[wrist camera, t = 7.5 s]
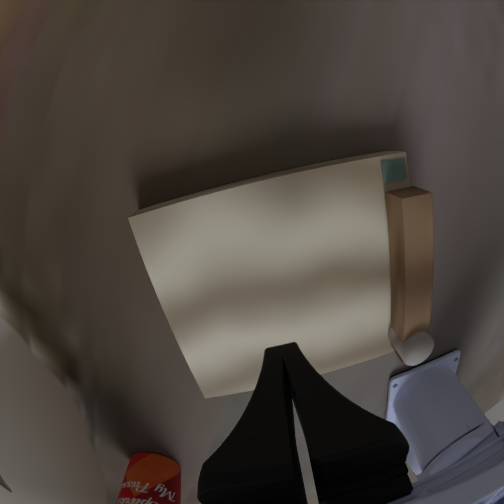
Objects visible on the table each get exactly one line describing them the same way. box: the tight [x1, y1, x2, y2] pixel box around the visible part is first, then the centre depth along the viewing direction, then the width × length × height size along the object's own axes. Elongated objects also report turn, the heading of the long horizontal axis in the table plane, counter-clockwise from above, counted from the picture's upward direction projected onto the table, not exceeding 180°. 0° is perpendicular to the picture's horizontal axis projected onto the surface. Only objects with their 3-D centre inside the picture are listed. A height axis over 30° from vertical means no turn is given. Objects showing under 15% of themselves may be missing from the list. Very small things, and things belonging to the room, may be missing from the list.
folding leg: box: [385, 186, 434, 366], centre depth 17 cm, size 11×2×3 cm, turn 13°
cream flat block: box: [128, 150, 410, 398], centre depth 19 cm, size 14×16×2 cm
